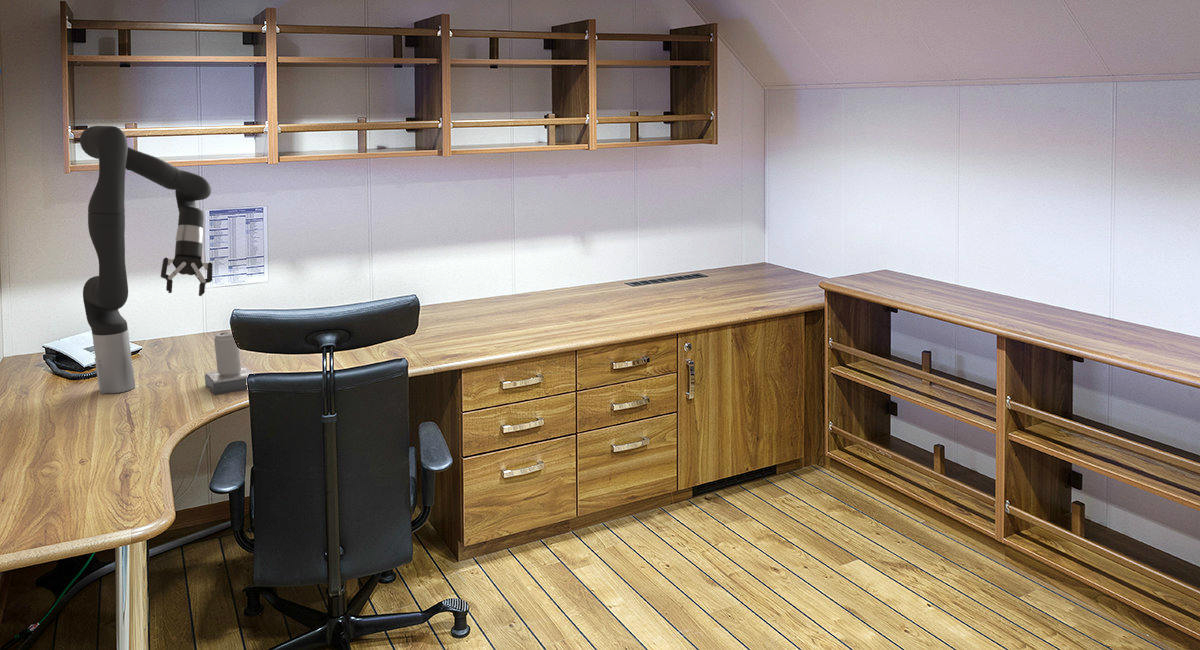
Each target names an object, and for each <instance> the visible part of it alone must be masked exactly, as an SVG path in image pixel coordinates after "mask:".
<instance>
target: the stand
mask: <svg viewBox="0 0 1200 650" xmlns="http://www.w3.org/2000/svg"><path fill="white" fill-rule="evenodd" d="M249 374H254V373H253V372H252V371H251V370H250V369H249V368H248V367H247V366H241V371H240V372H239V373H238V374H236V375H231V376H223V375H221V374H219V373H218V370H212V371H207V372H205V373H204V381H205V382H204V383H205V386H206V388H207V389H209V391H210V393H212V395H213V396H219V395H224V393H225V394H231V393H237V392H243V391H248V390H247V385H246V378H247V376H248V375H249ZM236 391H237V392H236ZM230 392H231V393H230ZM218 394H219V395H218Z"/></svg>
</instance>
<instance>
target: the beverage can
mask: <svg viewBox="0 0 1200 650" xmlns="http://www.w3.org/2000/svg"><path fill="white" fill-rule="evenodd" d="M232 332H233V331H222V332H218V333H215V335H214V338H213V339H214V341H213V342H214V349H215V350H214V351H215V359H216V368H217V369H216V371H218V373H219V374H221V375H223V376H231V375H236V374H238V373H239V372H240V371H241V367H242V365H241V364H242V363H241V355H240V347H239V348H238V347H237V345H236V343H235V340H234V338H233V335H232Z"/></svg>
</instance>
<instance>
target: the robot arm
mask: <svg viewBox="0 0 1200 650" xmlns="http://www.w3.org/2000/svg"><path fill="white" fill-rule="evenodd" d="M128 144H129V143H128V139H127V135H126V134H125V132H124V131H123V130H122V129H120V128H119V127H117V126H113V125H93V126H89V127H86V128H85V129H84V130H83V131H82V132H81V134H80V137H79V145H80V147H81V150H83V152H84V153H85V154H86V155H88V156H89V157H91V158H94V159H97V160H98V179H97V183H96V185H95V186H94V189H93V192H92V194H91V196H90V200H89V202H88V206H87V226H88V233H89V237H90V239H91V242H92V244H93V247H94V249H95V253H96V256H97V258H98V275H96V276H92V277H89V278H88V279H87V280H86V281H85V283H84V285H83V289H82V298H83V300H82V301H83V305H84V310H85V316H86V320H87V324H88V325H89V327H90V328H91V335H92V343H93V349H94V356H95V357H94V361H95V362H94V364H95V370H96V377H97V385H98V390H99V392H100V394H102V395H104V394H117V393H118V394H119V393H124V392H128V391H131V390H133V389H135V388H136V381H135V375H134V366H133V359H132V351H131V344H130V343H131V342H130V336H129V328H128V322H127V320H126V319H125V318H124V317H123V316H122V315H121V313H120V311H119V309H121V308H122V307H124V306H125V305H126V303H127V301H128V297H129V284H128V283H129V282H128V276H127V270H126V269H127V268H126V267H127V265H126V245H125V244H126V243H125V242H126V241H125V238H126V237H125V234H126V233H125V231H126V230H125V229H126V214H125V212H126V210H125V206H126V205H125V195H126V194H125V190H126V189H125V188H126V187H125V181H126V180H125V179H126V170H127V171H128V170H129V171H131V172H132V173H134V174H137V175H139V176H141V177H143V178H145V179H147V180H149V181H151V182H152V183H155V184H157V185H159V186H161V187H163V188H165V189H167V190H173V191H175V193H174V194H175V199H176V205H177V209H178V222H177V228H176V235H175V246H174V247H175V250H174V257H173V258H168V257H164V258H163V259H162V264H161V272H160V278H161V279H164V280H166V287H165V289H166V292H168V294H172V293H173V279H174V278H175V277H176V276H177V275H178V274H179V275H188V276H195V278H196V279H198V281H199V287H198V296H199V297H202V296H203V295H204V294H205V292H206V291H205V290H206V285H207V284H208V283H211V282H213V263H212V262H203V259H202V257H203V243H204V231H203V230H204V217H205V216H204V215H205V214H204V211H203V210H202V209H200V208H199V207H197V206H196V201H202V200H206V199H207V198H208V197H210V196H211V194H212V186H211V184H210V182H209V181H208V180H207V179H206V178H205V177H204V176H202V175H199V174H196V173H193V172H190V171H187V170H183V169H180V168H179V167H176V166H175V165H173V164H171V163H169V162H167V161H165V160H163V159H161V158H158V157H156V156H154V155H151V154H149V153H148V154H147V153H145V152H142V151H139V150H137V149H134V148H131V146H129V145H128ZM171 264H172V265H173V266H174V270H173V271H172V272H171V273H170V274H167V271H168V267H169V266H170V265H171ZM203 267H204V270H205V271H206V278H205V277H204V276H203V274H202V272H201V271H200V270H201V269H202V268H203Z"/></svg>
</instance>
